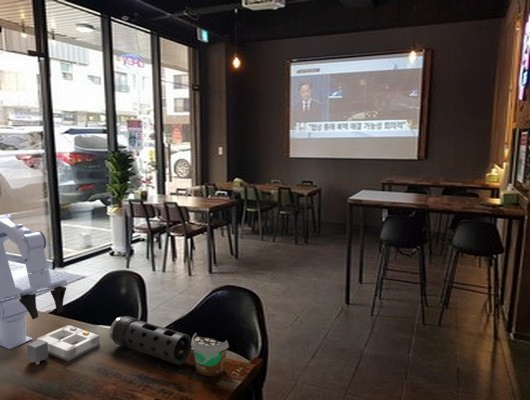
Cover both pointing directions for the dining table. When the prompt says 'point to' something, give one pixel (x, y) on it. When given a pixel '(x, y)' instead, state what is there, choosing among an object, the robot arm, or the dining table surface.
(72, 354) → the double socket
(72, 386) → the dining table surface
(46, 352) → the plug
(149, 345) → the muzzle brake
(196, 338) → the food container
